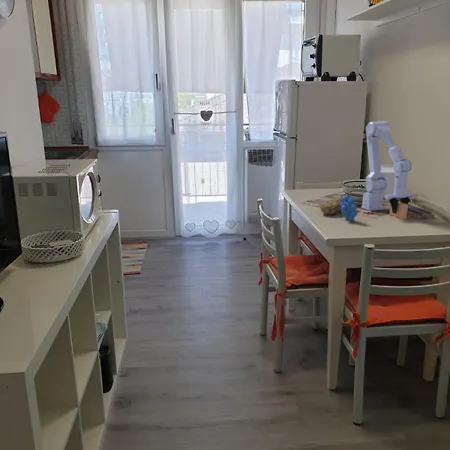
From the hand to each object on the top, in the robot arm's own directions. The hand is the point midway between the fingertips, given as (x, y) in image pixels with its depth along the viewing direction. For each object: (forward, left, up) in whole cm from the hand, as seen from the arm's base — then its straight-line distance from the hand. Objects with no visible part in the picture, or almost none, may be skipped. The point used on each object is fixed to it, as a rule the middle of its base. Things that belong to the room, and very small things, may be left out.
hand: (398, 212), depth 226 cm
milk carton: (+18, +37, -2) cm, 41 cm away
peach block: (0, 0, -2) cm, 2 cm away
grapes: (-27, +2, -2) cm, 27 cm away
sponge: (-25, +17, -2) cm, 30 cm away
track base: (+10, +1, -2) cm, 10 cm away
